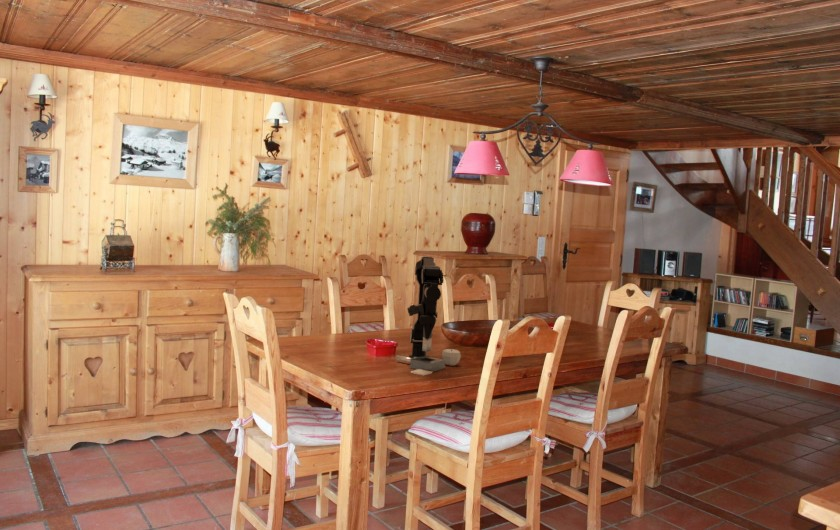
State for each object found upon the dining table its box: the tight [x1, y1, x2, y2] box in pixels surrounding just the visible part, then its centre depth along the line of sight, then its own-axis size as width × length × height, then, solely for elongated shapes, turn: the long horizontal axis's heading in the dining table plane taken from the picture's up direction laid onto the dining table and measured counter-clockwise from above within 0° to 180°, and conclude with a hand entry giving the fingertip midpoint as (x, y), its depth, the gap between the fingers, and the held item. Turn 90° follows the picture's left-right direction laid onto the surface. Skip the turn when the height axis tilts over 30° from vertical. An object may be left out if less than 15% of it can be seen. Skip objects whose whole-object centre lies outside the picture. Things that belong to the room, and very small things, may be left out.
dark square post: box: [422, 329, 433, 352], centre depth 280 cm, size 3×3×10 cm
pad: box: [410, 369, 433, 376], centre depth 277 cm, size 6×6×1 cm
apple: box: [441, 348, 462, 367], centre depth 295 cm, size 8×8×7 cm
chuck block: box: [395, 354, 446, 373], centre depth 288 cm, size 10×20×4 cm, turn 57°
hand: (427, 338), depth 280 cm, fingers closed on dark square post, 3 cm apart
